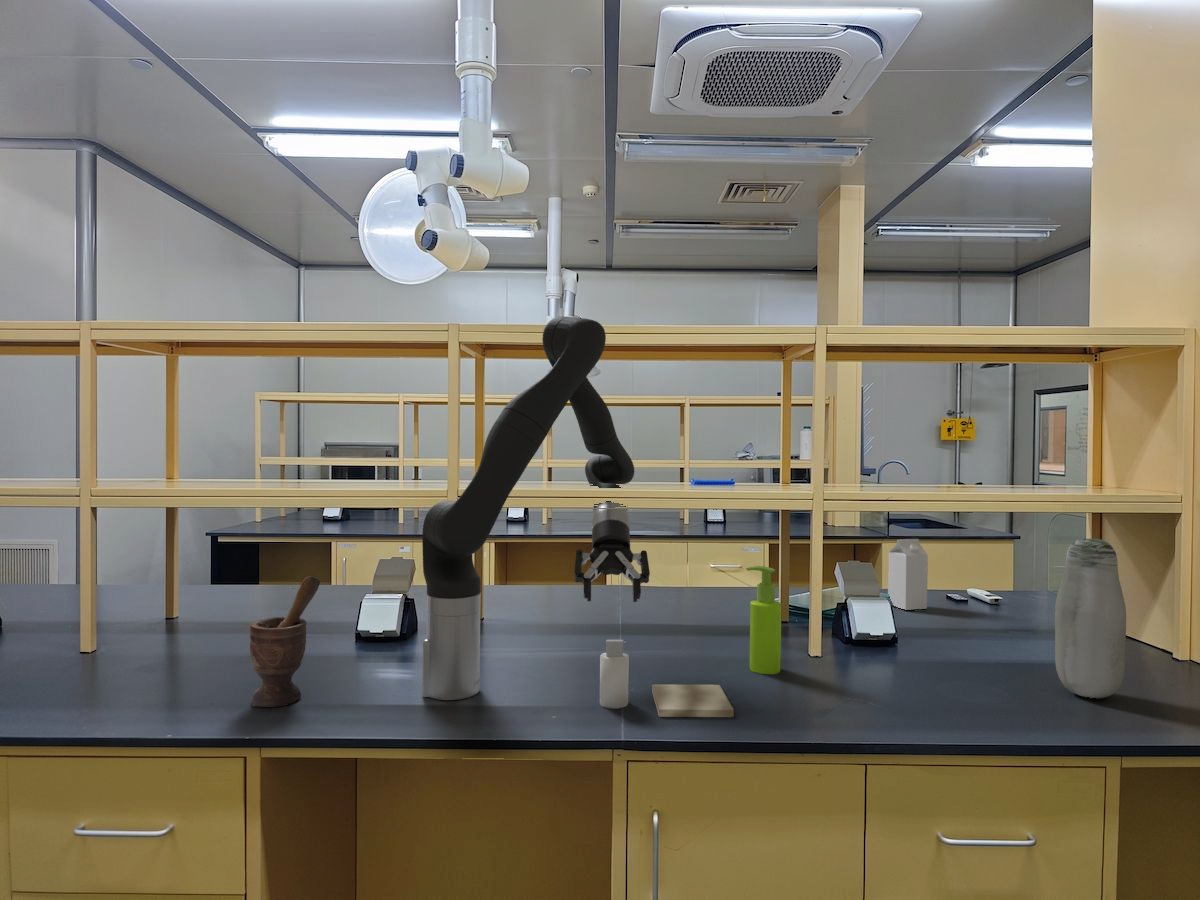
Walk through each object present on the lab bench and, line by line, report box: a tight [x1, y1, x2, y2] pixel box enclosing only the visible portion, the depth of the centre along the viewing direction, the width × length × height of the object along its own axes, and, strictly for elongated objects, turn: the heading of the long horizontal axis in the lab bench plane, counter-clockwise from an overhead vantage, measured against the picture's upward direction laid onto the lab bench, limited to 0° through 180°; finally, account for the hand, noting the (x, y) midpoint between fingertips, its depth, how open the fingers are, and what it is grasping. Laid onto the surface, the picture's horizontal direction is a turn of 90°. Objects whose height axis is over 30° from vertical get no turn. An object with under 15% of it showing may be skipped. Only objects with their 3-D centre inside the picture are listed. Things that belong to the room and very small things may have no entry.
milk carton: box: [887, 538, 929, 610], centre depth 196 cm, size 7×7×19 cm
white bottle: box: [599, 639, 630, 710], centre depth 120 cm, size 5×5×11 cm
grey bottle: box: [1054, 538, 1127, 699], centre depth 127 cm, size 10×10×28 cm
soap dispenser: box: [745, 565, 782, 675], centre depth 139 cm, size 6×7×20 cm
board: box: [651, 683, 735, 718], centre depth 120 cm, size 12×12×1 cm
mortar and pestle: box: [249, 575, 321, 708], centre depth 120 cm, size 12×9×20 cm
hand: (612, 599), depth 131 cm, fingers open, 8 cm apart
